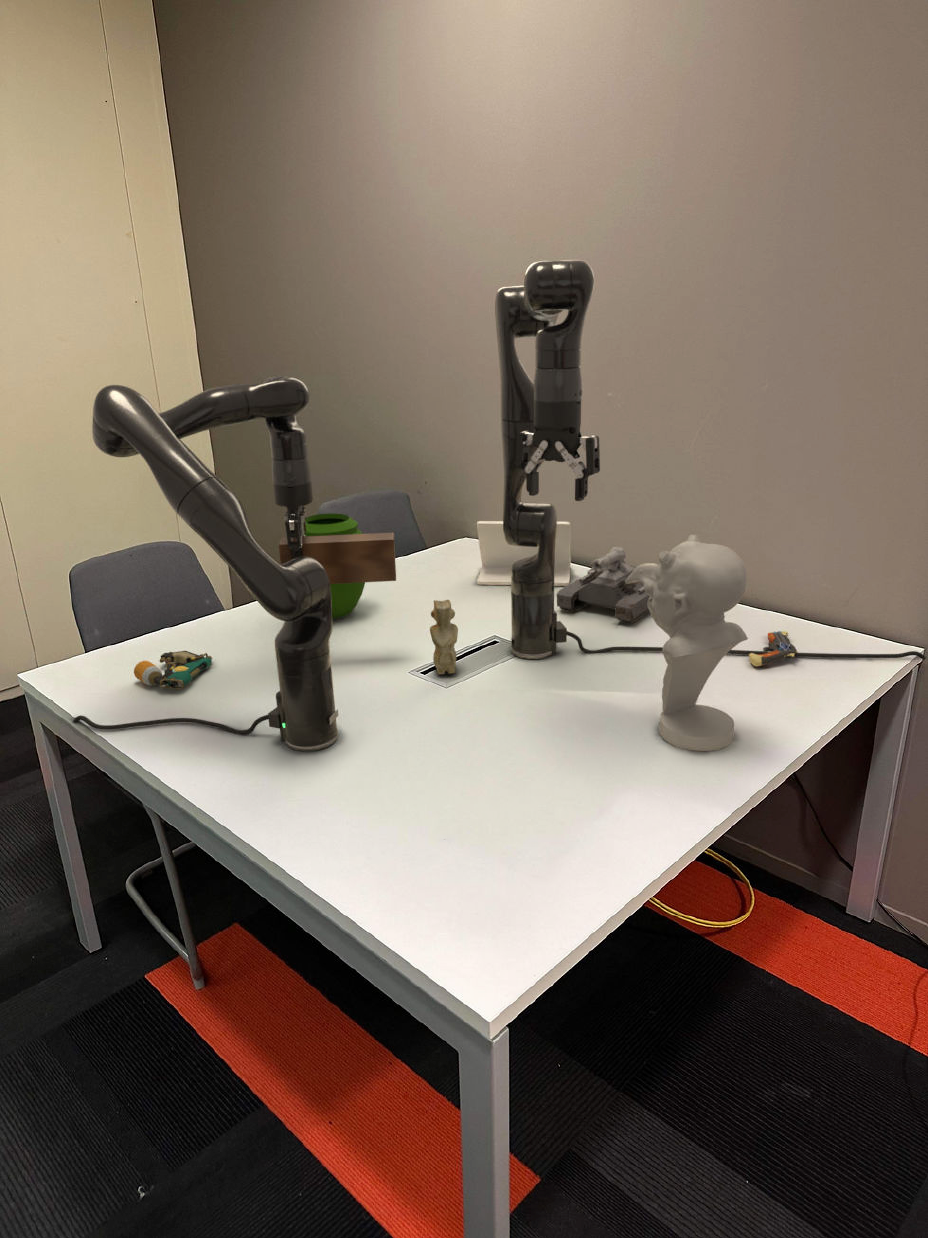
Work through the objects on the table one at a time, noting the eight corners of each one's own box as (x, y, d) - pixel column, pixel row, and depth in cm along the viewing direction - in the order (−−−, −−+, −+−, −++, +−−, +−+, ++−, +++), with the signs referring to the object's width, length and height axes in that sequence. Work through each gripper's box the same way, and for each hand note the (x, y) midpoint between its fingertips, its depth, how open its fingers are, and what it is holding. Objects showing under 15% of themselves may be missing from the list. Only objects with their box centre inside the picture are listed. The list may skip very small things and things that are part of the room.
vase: (389, 608, 216) (383, 514, 208) (339, 633, 201) (330, 533, 192) (330, 596, 226) (322, 506, 218) (278, 619, 211) (267, 523, 202)
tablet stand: (569, 585, 229) (570, 524, 223) (476, 584, 232) (475, 523, 226) (570, 566, 246) (571, 508, 240) (484, 564, 249) (483, 507, 243)
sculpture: (458, 662, 183) (456, 596, 178) (460, 676, 176) (457, 608, 171) (431, 663, 183) (428, 597, 177) (431, 677, 176) (428, 609, 171)
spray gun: (177, 659, 191) (231, 671, 185) (120, 684, 176) (176, 698, 171) (176, 641, 190) (230, 653, 184) (118, 665, 175) (174, 678, 169)
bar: (396, 573, 182) (393, 532, 178) (396, 580, 177) (393, 539, 173) (286, 578, 180) (281, 537, 177) (283, 586, 175) (278, 544, 172)
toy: (603, 584, 229) (605, 530, 224) (673, 597, 218) (677, 540, 213) (555, 612, 210) (556, 553, 205) (630, 627, 199) (633, 566, 194)
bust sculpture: (666, 688, 168) (677, 514, 156) (759, 738, 148) (779, 544, 136) (600, 707, 161) (606, 527, 149) (688, 763, 141) (703, 560, 129)
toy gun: (751, 657, 175) (803, 654, 173) (740, 630, 193) (787, 626, 191) (752, 670, 176) (803, 667, 174) (741, 641, 194) (787, 638, 192)
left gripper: (277, 473, 177) (285, 552, 183) (268, 488, 163) (276, 572, 169) (314, 472, 177) (320, 551, 183) (307, 486, 164) (314, 571, 170)
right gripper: (506, 397, 136) (507, 497, 142) (588, 401, 129) (585, 506, 134) (530, 392, 142) (530, 489, 148) (609, 395, 134) (605, 497, 140)
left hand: (299, 560), depth 176 cm, fingers closed on bar, 5 cm apart
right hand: (556, 497), depth 141 cm, fingers open, 8 cm apart
